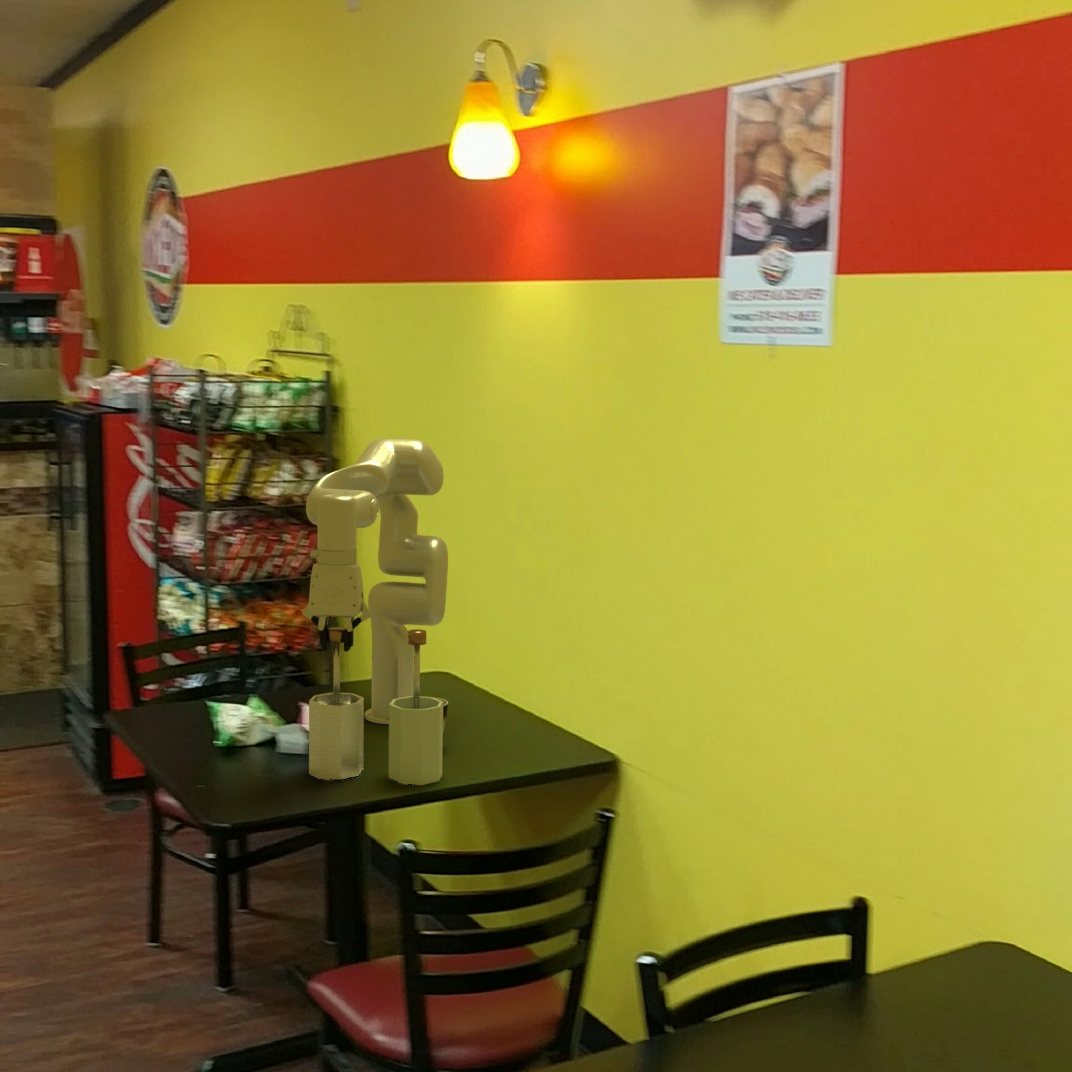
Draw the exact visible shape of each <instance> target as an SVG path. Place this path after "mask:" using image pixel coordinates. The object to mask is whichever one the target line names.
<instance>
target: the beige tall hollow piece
mask: <svg viewBox="0 0 1072 1072" xmlns="http://www.w3.org/2000/svg"><path fill="white" fill-rule="evenodd" d="M364 702H365V698H364V696H361V695H359V694H355V693H354V692H353V693H352V692H340V705H333V704H334V691H331V692H327V693H326V692H325V693H321V694H320V693H319V694H314V695H313V696H312V697H311V698H310V699H309V700H308V774H311V775H310V776H311V777H313V776H314V778H315V777H316V778H315V779H317V778H318V779H317V780H319V779H323V780H322V781H331V780H330V779H333V780H334V779H346V778H349V777H355V776H359V774H360V773H361V771H362V770H363V771H364V743H365V741H364V737H365V736H364V733H365V731H364V725H365V724H364V723H365V722H364V721H365V709H364V708H365V707H364V706H365V703H364ZM361 774H362V773H361ZM361 774H360V775H361ZM359 777H360V776H359ZM324 779H325V780H324ZM333 780H332V781H333Z"/></svg>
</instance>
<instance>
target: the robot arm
mask: <svg viewBox="0 0 1072 1072" xmlns="http://www.w3.org/2000/svg"><path fill="white" fill-rule="evenodd" d="M364 449H365V450H363V452H362V454H361V455H360V457H359V458H358V459H357V461H356V462H355V463H354V464H350V465H348V466H345V467H342V468H341V469H340V468H339V469H337V470H335V471H332V472H330V473H327V474H325V475H324V476H322V477H321V478H320V479H319V480H318V481H317V482H316V483H315V485H314V486H313V488H312V489H311V491H310V493H309V495H308V496H307V499H306V503H305V513H306V516H307V519H308V520H309V522H311V524H313V525H316V526H317V548H316V549H314V550H310V553H309V555H310V558H312V559H316V563H314V564H313V565H312V568H311V569H312V570H311V576H310V584H309V592H308V593H309V595H308V596H309V597H308V603H306V605H305V608H304V609H303V610H302V613H301V614H302V616H304V617H305V618H306V619H308V620H310V621H311V622H312V623H313V624H314V625H315V626H316V627H317V629H318V631H319V646H322V647H321V649H322V651H324V652H325V651H327V650H328V649H330V648H331V647H330V646H331V643H330V642H328V628H329V625H328V623H329V617H334V618H335V617H337V618H338V617H339V618H344V621H345V623H344V624H345V628H346V631H345V632H344V642H343V651H344V652H346V653H347V652H349V651H350V650H351V648H352V647H354V630H355V629H356V627H358V626H360V624H361V623H364V622H365V621H366V620H368V619H370V627H371V708H369V709H367V710H366V711H364V720H366V721H368V722H370V723H374V724H379V725H380V724H381V725H389V704H390V703H391V702H392V700H393V699H397V698H403V697H408V696H413V689H414V645H410V644H408V631H409V630H408V629H407V628H406V626H407V625H413V626H428V627H429V626H430V627H431V626H433V627H434V626H438V625H439V624H440V623H442V621H443V620H444V617H445V612H446V603H447V600H446V599H447V589H448V588H447V587H448V585H447V584H448V572H449V571H448V570H449V553H448V551H449V550H448V547H447V544H446V541H445V540H444V539H442V538H441V537H438V536H435V535H422V534H421V535H419V534H418V525H419V524H418V522H419V521H418V520H419V513H418V510H417V508H416V506H415V505H414V503H413V501H412V500H411V499H410V498H409V497H408V495H410V496H411V495H412V496H434V495H437V493H439V492H440V490H441V489H442V487H443V485H444V478H445V475H444V470H443V466H442V463H441V460H440V459H439V458H438V457H437V455H436V453H435V451H434V450H433V449H432V448H431V447H430V445H428V444H427V443H426V442H424V441H422V440H420V439H411V438H410V439H409V438H388V437H387V438H377V439H375V440H374V441H372V442H370V444H368V445H367V447H366V448H364ZM379 514H380V522H379V523H380V524H379V525H380V526H379V535H378V536H379V537H378V538H379V539H378V550H377V551H378V554H377V559H378V560H377V563H378V564H377V565H378V568H379V571H381V573H383V574H385V575H387V576H388V575H389V576H395V577H414V578H423V579H424V581H425V583H421V582H410V581H409V582H407V581H381V582H379V583H376V584H374V585H373V586H372V587H371V589H370V590H369V593H368V597H367V603H366V602H365V597H364V596H365V595H364V585H363V577H362V576H363V575H362V570H361V565H360V563H357V535H358V534H357V529H364V528H365V529H366V528H368V527H370V526H371V525H373V524H374V523H375V522H376V521H377V518H378V516H379ZM367 604H368V605H367ZM360 613H361V614H360ZM359 614H360V615H359ZM358 615H359V616H358ZM355 617H356V618H355Z"/></svg>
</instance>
